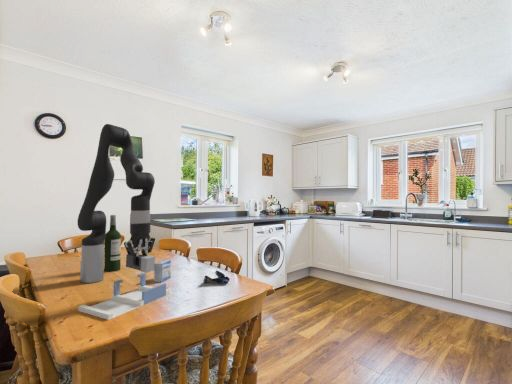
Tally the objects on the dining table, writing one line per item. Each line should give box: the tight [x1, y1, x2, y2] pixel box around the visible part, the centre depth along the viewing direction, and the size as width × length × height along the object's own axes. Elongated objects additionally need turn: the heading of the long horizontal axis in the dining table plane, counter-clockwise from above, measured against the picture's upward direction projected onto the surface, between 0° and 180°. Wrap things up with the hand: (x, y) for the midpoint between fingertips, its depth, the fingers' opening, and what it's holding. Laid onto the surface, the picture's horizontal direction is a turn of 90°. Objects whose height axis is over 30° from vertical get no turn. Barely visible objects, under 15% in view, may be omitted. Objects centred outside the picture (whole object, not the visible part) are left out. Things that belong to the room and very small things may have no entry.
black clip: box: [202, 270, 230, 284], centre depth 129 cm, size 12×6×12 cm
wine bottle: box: [104, 214, 122, 273], centre depth 151 cm, size 8×8×30 cm
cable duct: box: [77, 272, 170, 321], centre depth 104 cm, size 16×26×7 cm, turn 154°
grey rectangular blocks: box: [125, 253, 156, 274], centre depth 110 cm, size 12×4×5 cm, turn 63°
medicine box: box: [153, 259, 172, 283], centre depth 133 cm, size 8×4×9 cm, turn 168°
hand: (140, 264), depth 110 cm, fingers closed on grey rectangular blocks, 3 cm apart
